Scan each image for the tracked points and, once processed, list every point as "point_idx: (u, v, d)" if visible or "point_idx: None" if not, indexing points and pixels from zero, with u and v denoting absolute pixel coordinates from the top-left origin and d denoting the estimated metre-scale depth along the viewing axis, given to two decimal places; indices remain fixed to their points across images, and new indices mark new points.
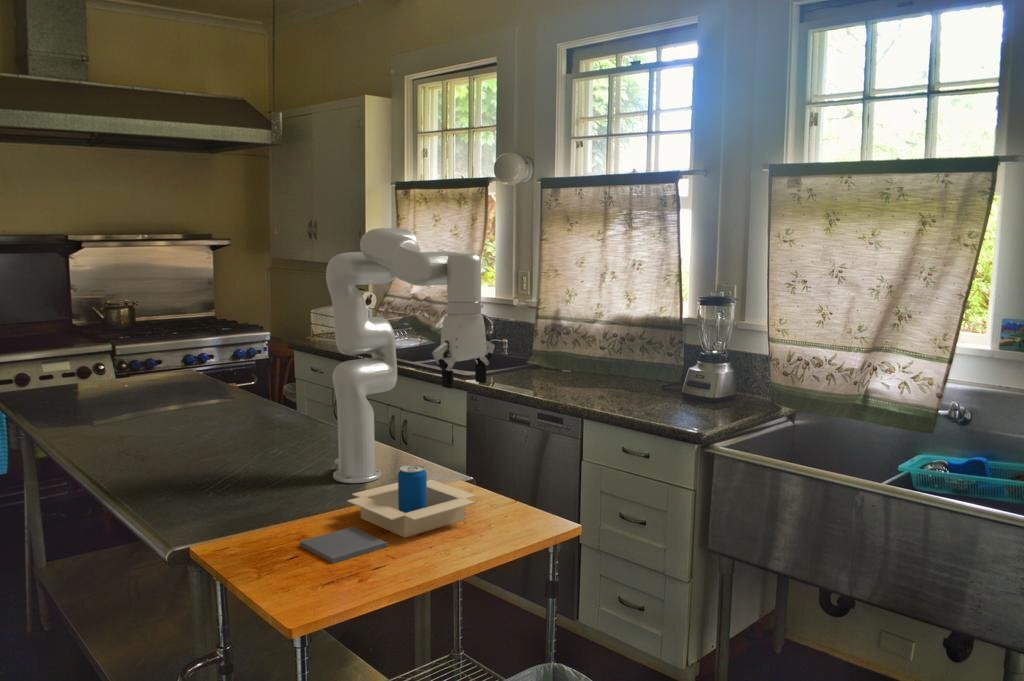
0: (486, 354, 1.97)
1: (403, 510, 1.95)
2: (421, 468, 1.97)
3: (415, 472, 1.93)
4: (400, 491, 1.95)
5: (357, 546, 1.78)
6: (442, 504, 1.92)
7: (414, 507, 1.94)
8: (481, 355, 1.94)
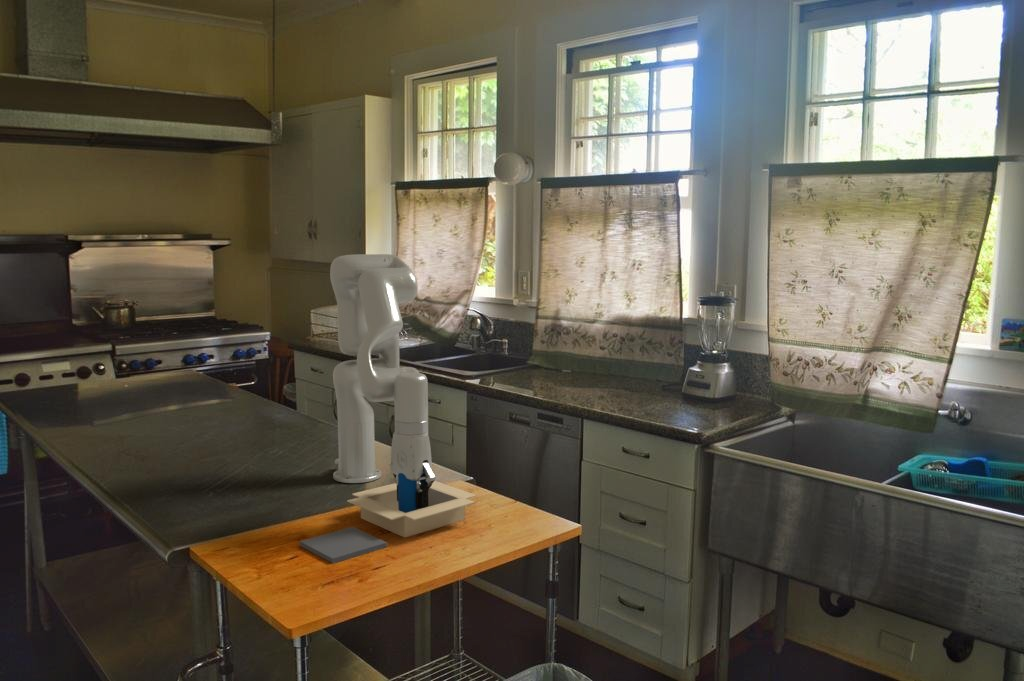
0: None
1: (403, 510, 1.94)
2: None
3: None
4: (400, 491, 1.95)
5: (357, 546, 1.78)
6: (442, 504, 1.92)
7: (414, 507, 1.94)
8: None
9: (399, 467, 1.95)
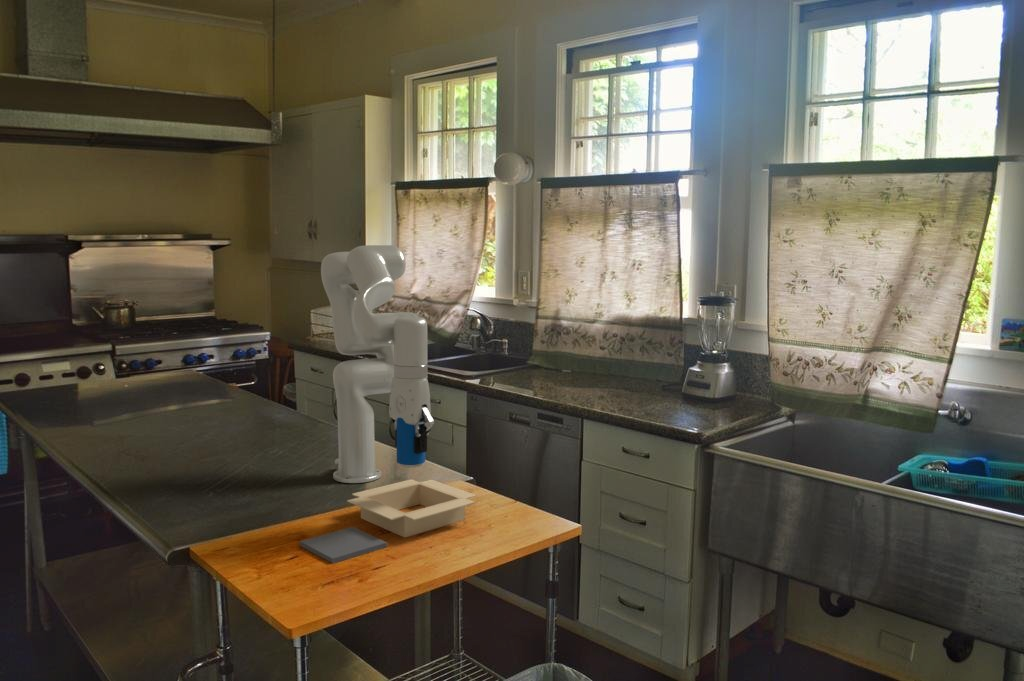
0: None
1: (401, 455, 1.93)
2: None
3: None
4: (398, 436, 1.93)
5: (357, 546, 1.78)
6: (442, 504, 1.92)
7: (413, 451, 1.93)
8: None
9: (398, 412, 1.93)
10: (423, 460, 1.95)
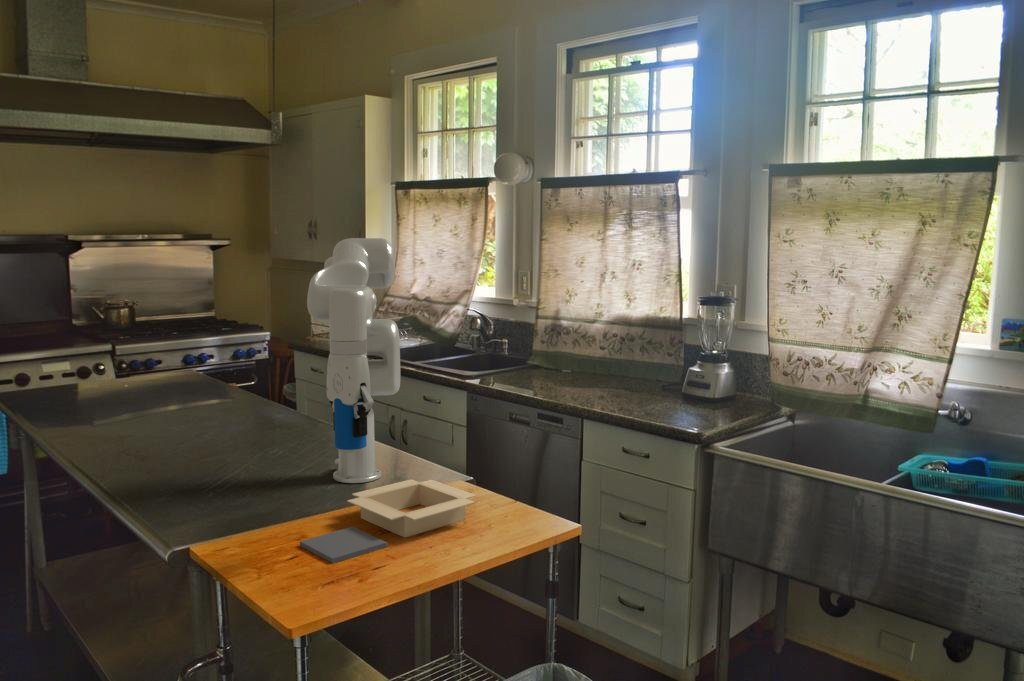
0: None
1: (339, 439, 1.77)
2: None
3: None
4: (336, 418, 1.77)
5: (357, 546, 1.78)
6: (442, 504, 1.92)
7: (352, 435, 1.76)
8: None
9: (335, 392, 1.77)
10: (364, 444, 1.79)
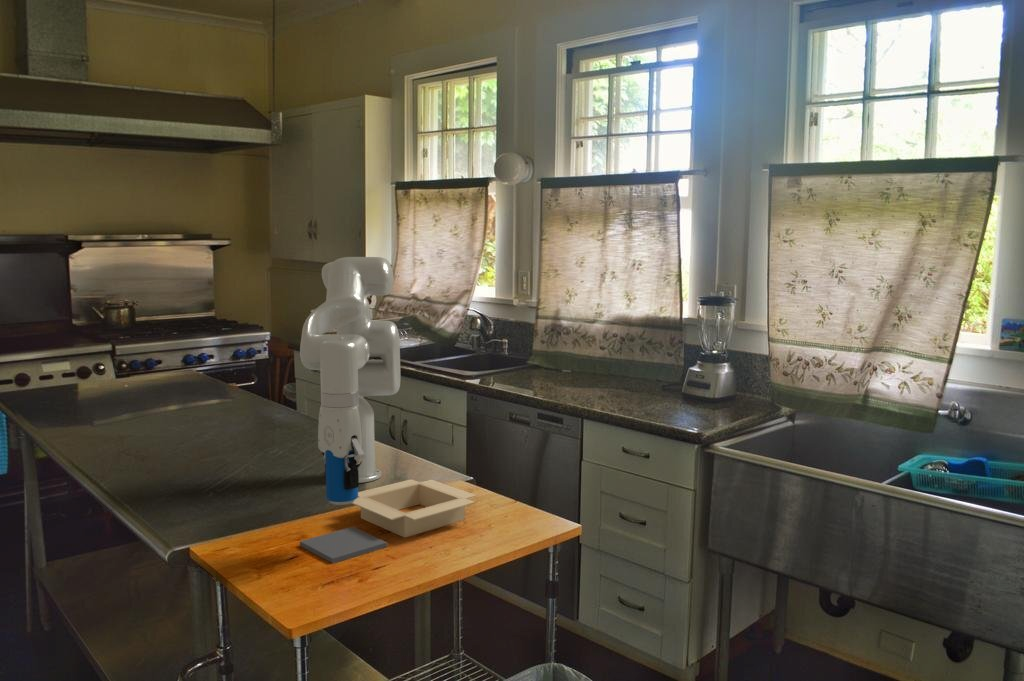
0: None
1: (330, 491, 1.76)
2: None
3: None
4: (327, 470, 1.76)
5: (357, 546, 1.78)
6: (442, 504, 1.92)
7: (343, 487, 1.75)
8: None
9: (326, 444, 1.76)
10: (355, 496, 1.78)
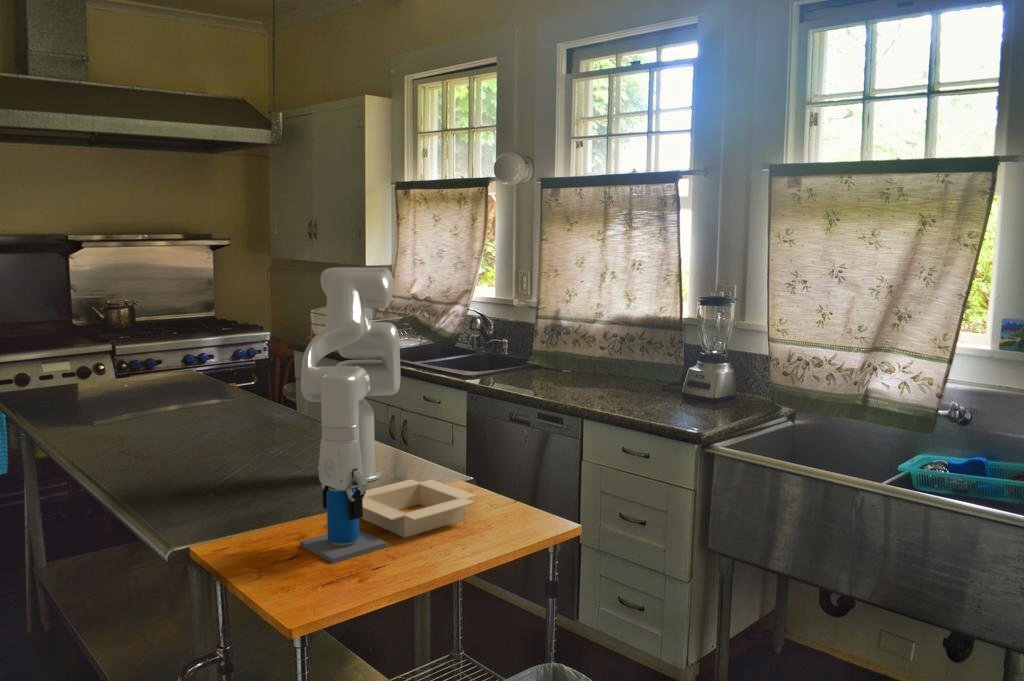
0: None
1: (332, 532, 1.77)
2: None
3: (344, 491, 1.76)
4: (328, 511, 1.77)
5: (357, 546, 1.78)
6: (442, 504, 1.92)
7: (344, 529, 1.77)
8: None
9: (327, 476, 1.77)
10: (356, 537, 1.79)
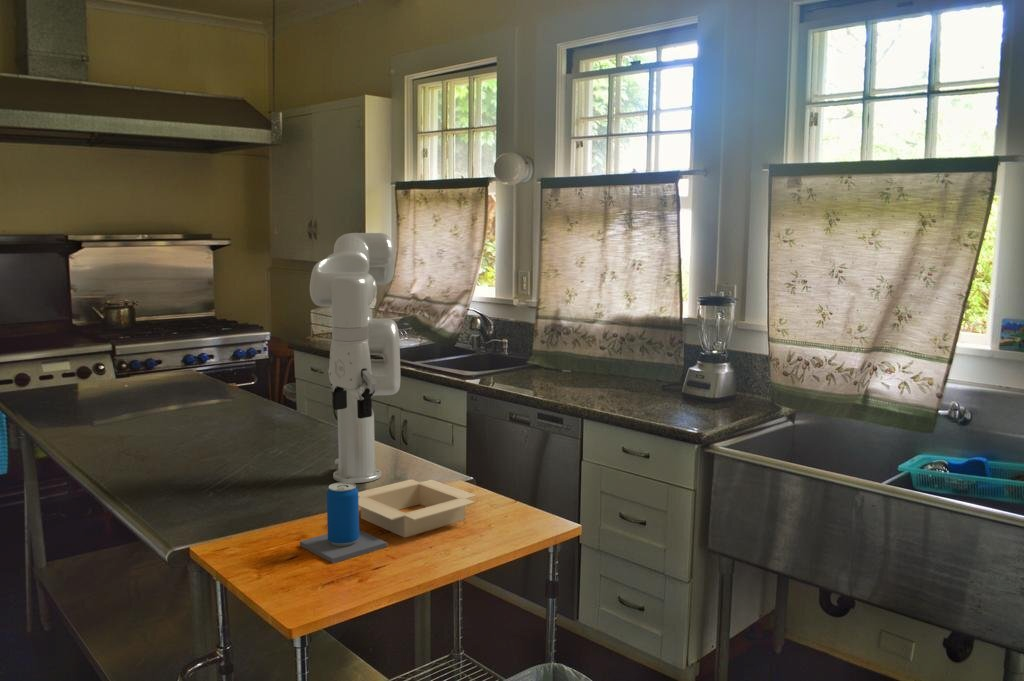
0: None
1: (332, 532, 1.77)
2: (352, 486, 1.79)
3: (344, 491, 1.76)
4: (328, 511, 1.77)
5: (357, 546, 1.78)
6: (442, 504, 1.92)
7: (344, 529, 1.77)
8: None
9: (337, 377, 1.82)
10: (356, 537, 1.79)
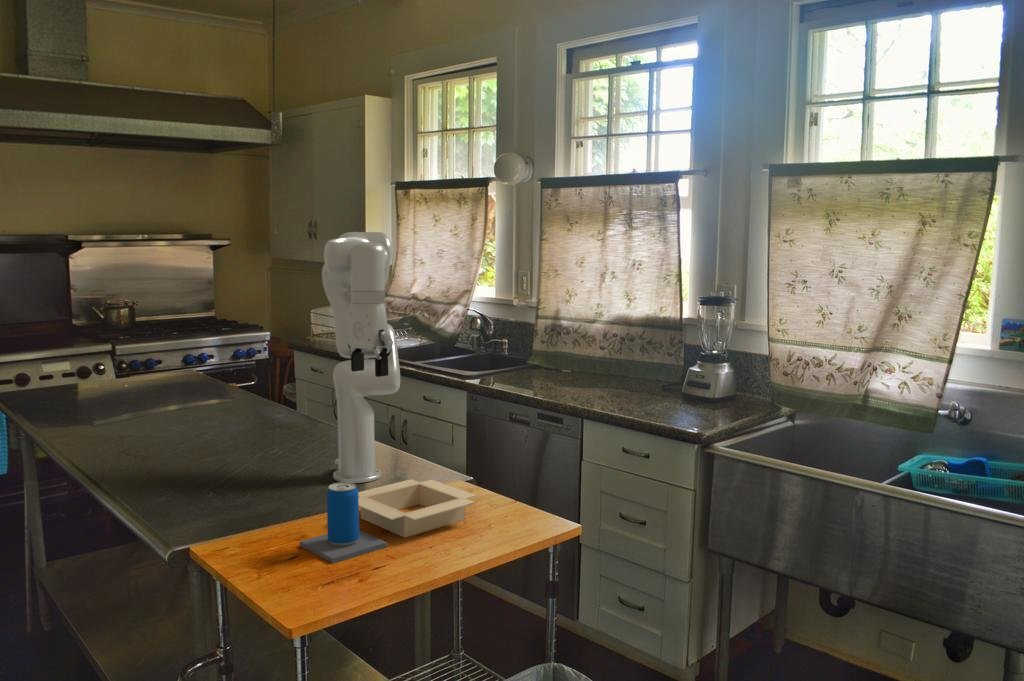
0: None
1: (332, 532, 1.77)
2: (352, 486, 1.79)
3: (345, 491, 1.76)
4: (328, 511, 1.77)
5: (357, 546, 1.78)
6: (442, 504, 1.92)
7: (344, 529, 1.77)
8: None
9: (356, 338, 1.94)
10: (356, 537, 1.79)
